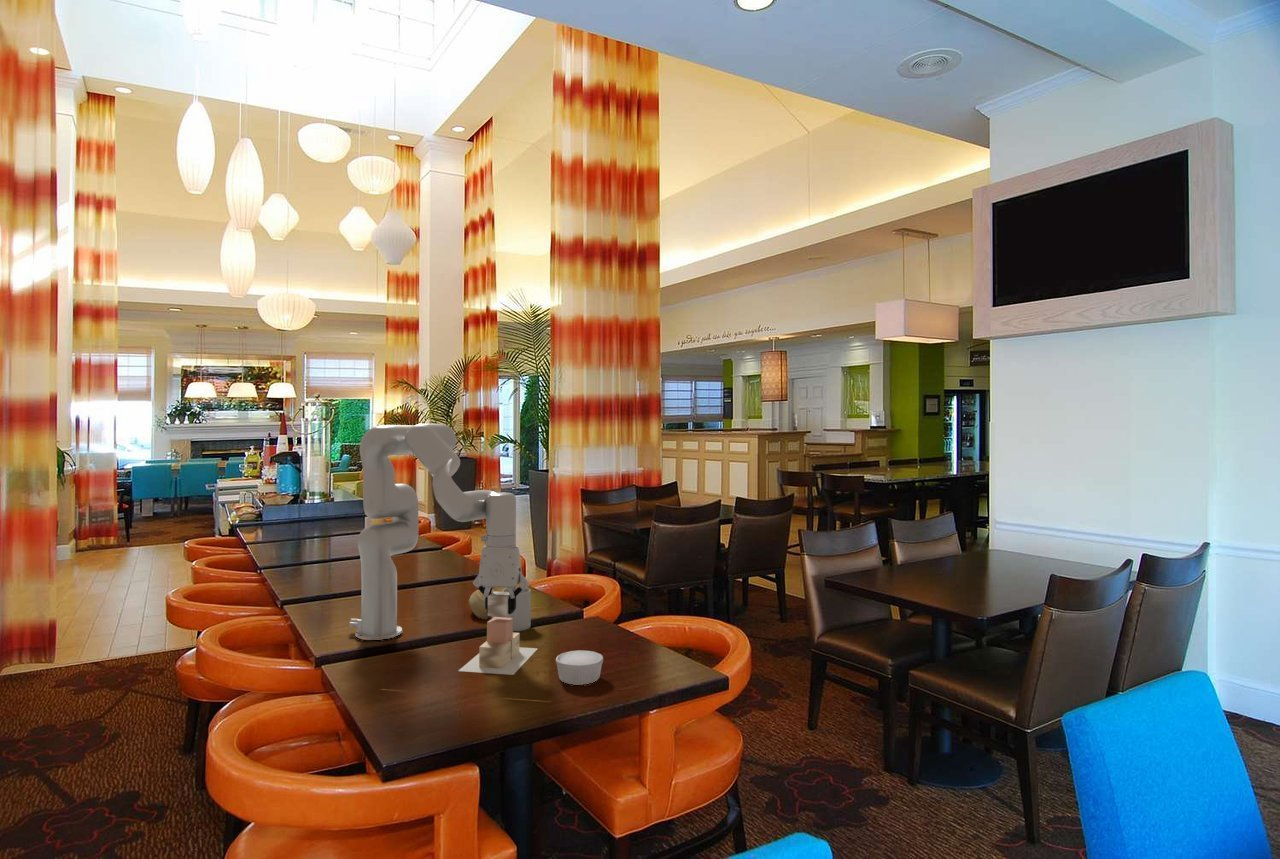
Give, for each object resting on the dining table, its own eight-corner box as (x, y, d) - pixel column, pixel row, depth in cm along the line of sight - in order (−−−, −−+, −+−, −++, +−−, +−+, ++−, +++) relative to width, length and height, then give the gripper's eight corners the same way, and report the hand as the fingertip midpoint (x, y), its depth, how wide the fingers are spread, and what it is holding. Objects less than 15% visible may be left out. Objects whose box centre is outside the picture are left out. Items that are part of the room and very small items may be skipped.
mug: (529, 622, 214) (529, 586, 214) (531, 630, 206) (532, 593, 206) (489, 624, 211) (489, 588, 211) (490, 633, 203) (490, 595, 203)
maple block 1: (479, 667, 174) (479, 646, 174) (488, 659, 180) (488, 639, 180) (502, 668, 173) (502, 648, 173) (510, 660, 179) (510, 640, 179)
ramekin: (549, 674, 170) (550, 652, 170) (593, 668, 175) (593, 647, 175) (563, 691, 160) (563, 668, 160) (609, 684, 164) (609, 661, 164)
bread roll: (494, 607, 231) (495, 583, 231) (504, 619, 218) (504, 593, 218) (465, 610, 228) (465, 585, 227) (473, 622, 214) (473, 596, 214)
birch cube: (487, 615, 177) (487, 596, 177) (494, 610, 182) (494, 591, 182) (506, 616, 177) (506, 596, 177) (513, 611, 182) (513, 592, 181)
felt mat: (458, 672, 171) (458, 670, 171) (488, 646, 191) (488, 645, 191) (513, 675, 169) (513, 674, 169) (537, 649, 188) (537, 648, 188)
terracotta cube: (486, 641, 178) (487, 622, 178) (494, 636, 183) (494, 616, 182) (505, 643, 177) (505, 623, 177) (512, 637, 182) (512, 618, 182)
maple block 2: (489, 657, 181) (489, 638, 181) (497, 650, 187) (497, 631, 186) (511, 659, 180) (512, 639, 180) (519, 651, 186) (519, 632, 186)
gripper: (463, 542, 177) (463, 614, 177) (528, 544, 174) (528, 617, 174) (474, 537, 184) (474, 607, 184) (537, 539, 182) (537, 610, 182)
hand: (500, 611), depth 179 cm, fingers closed on birch cube, 4 cm apart
